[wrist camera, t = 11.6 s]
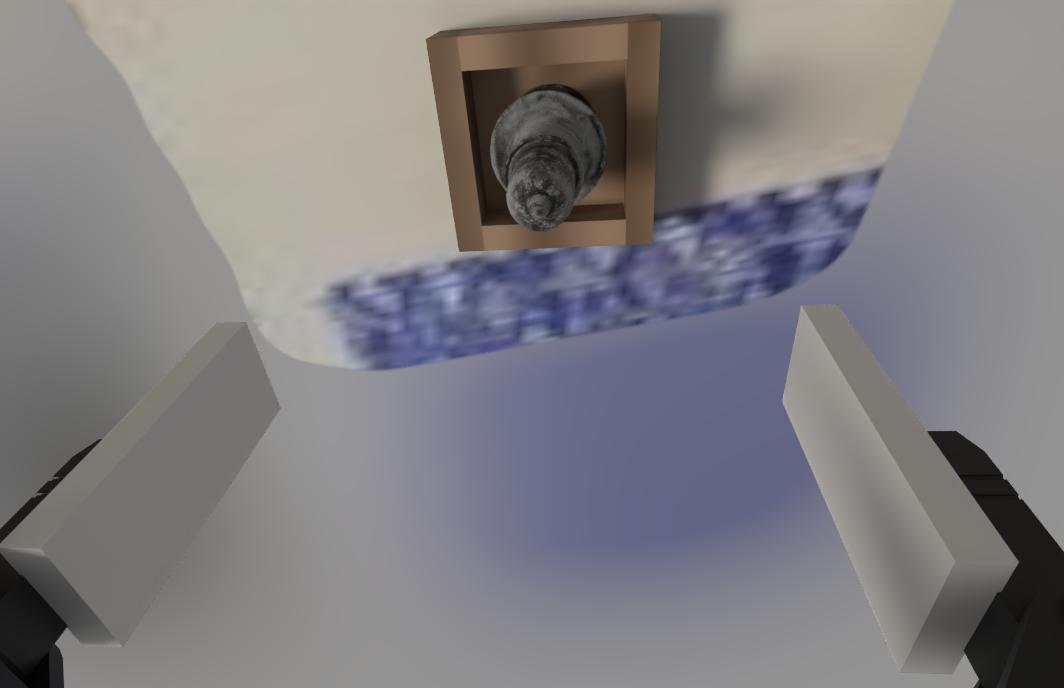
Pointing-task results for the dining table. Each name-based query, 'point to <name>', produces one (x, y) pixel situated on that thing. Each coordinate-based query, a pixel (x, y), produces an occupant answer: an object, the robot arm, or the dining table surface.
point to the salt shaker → (547, 154)
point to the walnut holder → (541, 59)
